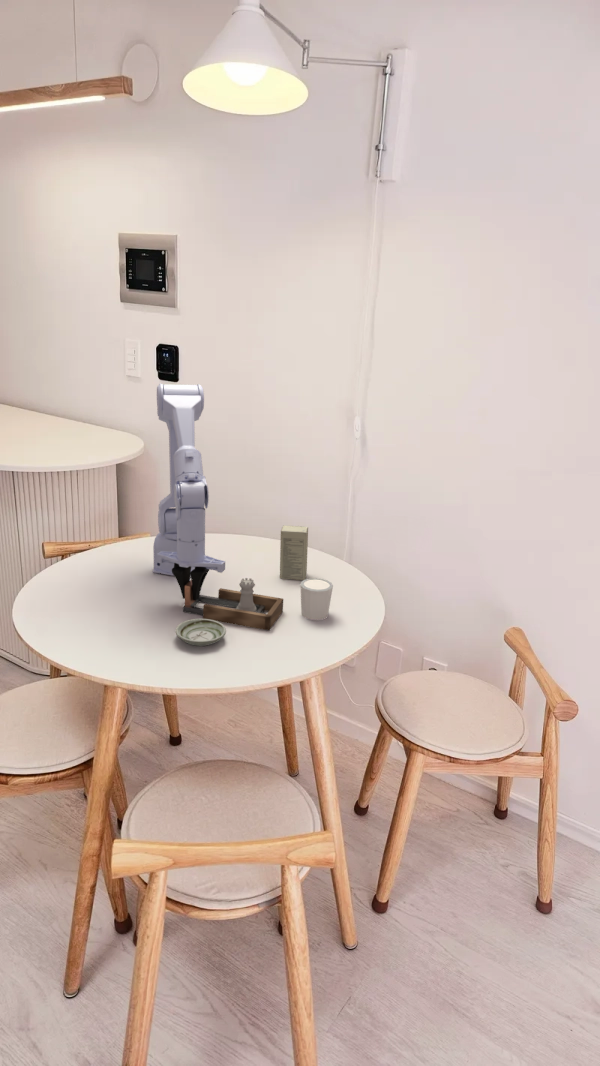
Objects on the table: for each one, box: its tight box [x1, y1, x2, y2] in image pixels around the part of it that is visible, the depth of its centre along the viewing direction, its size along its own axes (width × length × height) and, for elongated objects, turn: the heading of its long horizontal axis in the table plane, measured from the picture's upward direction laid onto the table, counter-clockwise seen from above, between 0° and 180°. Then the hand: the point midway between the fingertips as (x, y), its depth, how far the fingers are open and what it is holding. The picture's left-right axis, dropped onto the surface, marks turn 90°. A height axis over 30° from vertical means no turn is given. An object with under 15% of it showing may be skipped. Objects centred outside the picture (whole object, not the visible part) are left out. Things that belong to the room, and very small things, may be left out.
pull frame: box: [182, 579, 266, 616], centre depth 146 cm, size 16×7×6 cm, turn 75°
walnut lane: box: [202, 587, 284, 631], centre depth 146 cm, size 14×9×3 cm, turn 75°
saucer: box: [175, 618, 227, 647], centre depth 135 cm, size 10×10×2 cm
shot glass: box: [299, 577, 334, 621], centre depth 147 cm, size 7×7×7 cm
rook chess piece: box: [235, 577, 257, 612], centre depth 145 cm, size 4×4×8 cm
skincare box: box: [279, 525, 309, 581], centre depth 165 cm, size 6×4×12 cm
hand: (190, 597), depth 148 cm, fingers closed
